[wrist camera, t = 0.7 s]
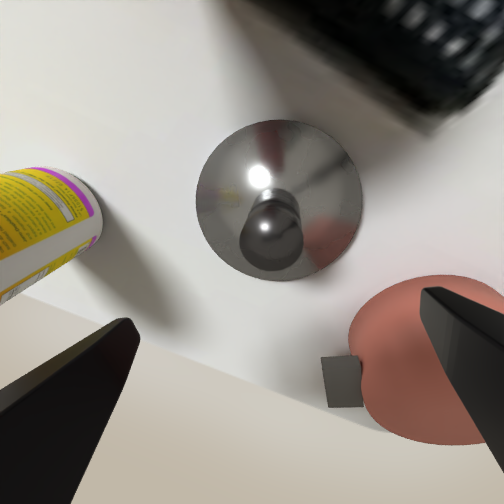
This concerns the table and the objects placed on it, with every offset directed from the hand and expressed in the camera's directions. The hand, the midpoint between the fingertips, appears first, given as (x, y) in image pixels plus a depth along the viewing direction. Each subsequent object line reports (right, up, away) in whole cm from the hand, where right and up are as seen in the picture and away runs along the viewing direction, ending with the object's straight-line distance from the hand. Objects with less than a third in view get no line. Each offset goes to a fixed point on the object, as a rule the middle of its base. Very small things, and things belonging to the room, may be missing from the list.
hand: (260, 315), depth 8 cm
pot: (+14, -5, +13) cm, 20 cm away
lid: (+1, +5, +10) cm, 11 cm away
